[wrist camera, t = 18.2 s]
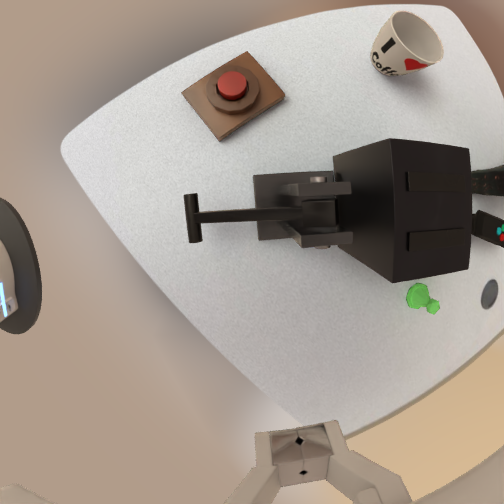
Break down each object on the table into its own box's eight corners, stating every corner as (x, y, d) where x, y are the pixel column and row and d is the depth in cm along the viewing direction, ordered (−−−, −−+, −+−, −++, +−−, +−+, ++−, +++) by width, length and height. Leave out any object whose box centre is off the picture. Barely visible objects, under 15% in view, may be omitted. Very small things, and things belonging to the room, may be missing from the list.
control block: (219, 141, 32) (216, 136, 29) (184, 97, 31) (178, 88, 27) (283, 99, 31) (287, 90, 28) (247, 57, 30) (247, 45, 26)
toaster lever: (196, 239, 30) (183, 244, 28) (191, 193, 29) (177, 195, 27) (339, 238, 24) (336, 244, 22) (337, 182, 23) (333, 182, 20)
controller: (486, 242, 36) (523, 255, 27) (446, 229, 36) (488, 241, 26) (490, 220, 36) (528, 229, 26) (451, 203, 35) (494, 210, 25)
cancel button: (229, 105, 28) (228, 100, 27) (213, 86, 28) (212, 81, 26) (251, 90, 28) (252, 85, 26) (235, 72, 27) (235, 66, 26)
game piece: (415, 312, 39) (434, 327, 33) (401, 299, 38) (421, 314, 32) (430, 291, 38) (451, 304, 32) (417, 277, 37) (439, 290, 31)
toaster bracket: (258, 239, 35) (267, 270, 22) (252, 175, 33) (258, 166, 20) (333, 232, 35) (382, 258, 22) (330, 171, 34) (379, 163, 20)
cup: (352, 60, 30) (381, 29, 20) (372, 31, 28) (400, 1, 19) (397, 94, 31) (435, 74, 21) (413, 63, 30) (448, 41, 20)
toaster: (337, 247, 36) (394, 284, 21) (332, 156, 33) (390, 137, 18) (399, 241, 36) (470, 270, 21) (397, 157, 33) (471, 148, 18)
